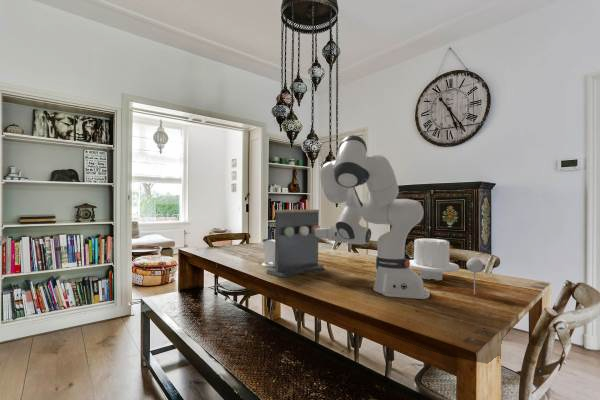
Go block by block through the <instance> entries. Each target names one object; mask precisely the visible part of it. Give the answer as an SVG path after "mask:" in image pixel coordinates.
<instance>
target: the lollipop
mask: <svg viewBox="0 0 600 400" xmlns="http://www.w3.org/2000/svg"><path fill="white" fill-rule="evenodd" d="M466 268H467V269H468V270H469V271H470V272H472V273H473V295H474V294H475V295H476V273H479V272H481V271H482V270H483V268H484V264H483V262H482V261H481V260H480V259H479V258H476V257H471V258H469V259H468V260H467V261H466Z"/></svg>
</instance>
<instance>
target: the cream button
mask: <svg viewBox="0 0 600 400" xmlns="http://www.w3.org/2000/svg"><path fill="white" fill-rule="evenodd" d="M308 233H309V229H308V227H306V226H301V227H300V228H299V234H300V235H305V236H306V235H308Z"/></svg>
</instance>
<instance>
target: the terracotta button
mask: <svg viewBox="0 0 600 400" xmlns="http://www.w3.org/2000/svg"><path fill="white" fill-rule="evenodd" d="M315 229H322V228H321V226H320V225H319V226H316V225H313V226H312V227H311V232H312V234H315Z"/></svg>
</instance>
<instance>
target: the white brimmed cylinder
mask: <svg viewBox="0 0 600 400" xmlns="http://www.w3.org/2000/svg"><path fill="white" fill-rule="evenodd" d="M450 245H451V244H450V241H449V240H447V239H442V238H441V239H440V238H439V239H438V238H416V239H414V241H413V259H409V261H410V266H409V268H411V269H412V270H418V271H419V276H420V277H421V278H423V279H422V280H430V279H435V280H434V281H439V280H442V281H443V273H451V272H453V273H454V272H459V270H460V266H459V264H456V263H454V262H450V257H451V256H450V254H451V253H450V251H451V249H450Z"/></svg>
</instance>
